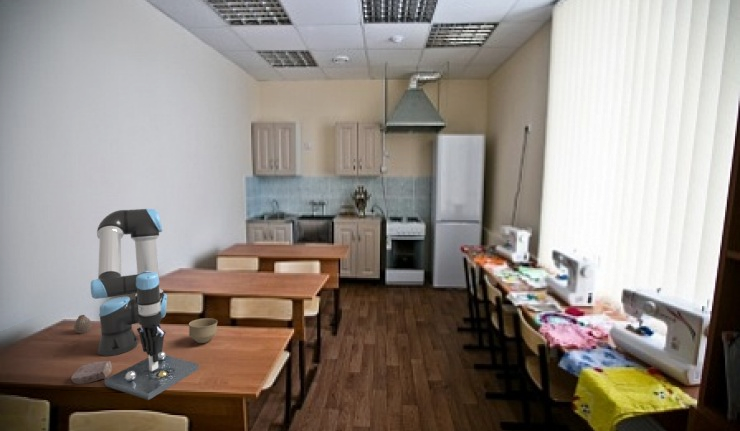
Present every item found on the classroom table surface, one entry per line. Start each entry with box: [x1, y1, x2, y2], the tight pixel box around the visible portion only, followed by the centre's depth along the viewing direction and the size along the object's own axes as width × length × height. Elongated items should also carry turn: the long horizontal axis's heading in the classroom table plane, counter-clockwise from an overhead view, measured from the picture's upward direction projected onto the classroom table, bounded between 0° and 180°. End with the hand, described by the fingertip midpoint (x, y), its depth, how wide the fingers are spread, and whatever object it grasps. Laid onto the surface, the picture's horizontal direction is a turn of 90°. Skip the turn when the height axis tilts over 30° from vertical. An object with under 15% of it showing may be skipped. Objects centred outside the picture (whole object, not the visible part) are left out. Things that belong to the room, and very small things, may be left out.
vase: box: [73, 314, 92, 335], centre depth 182 cm, size 7×7×9 cm
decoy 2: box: [125, 371, 136, 381], centre depth 135 cm, size 4×4×4 cm
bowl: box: [188, 317, 218, 344], centre depth 172 cm, size 13×13×10 cm
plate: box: [104, 354, 199, 401], centre depth 141 cm, size 24×22×2 cm
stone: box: [70, 360, 113, 385], centre depth 141 cm, size 9×12×5 cm
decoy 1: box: [158, 351, 167, 360], centre depth 150 cm, size 4×4×4 cm
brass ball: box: [158, 371, 168, 377], centre depth 139 cm, size 4×4×4 cm
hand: (153, 369), depth 141 cm, fingers closed
